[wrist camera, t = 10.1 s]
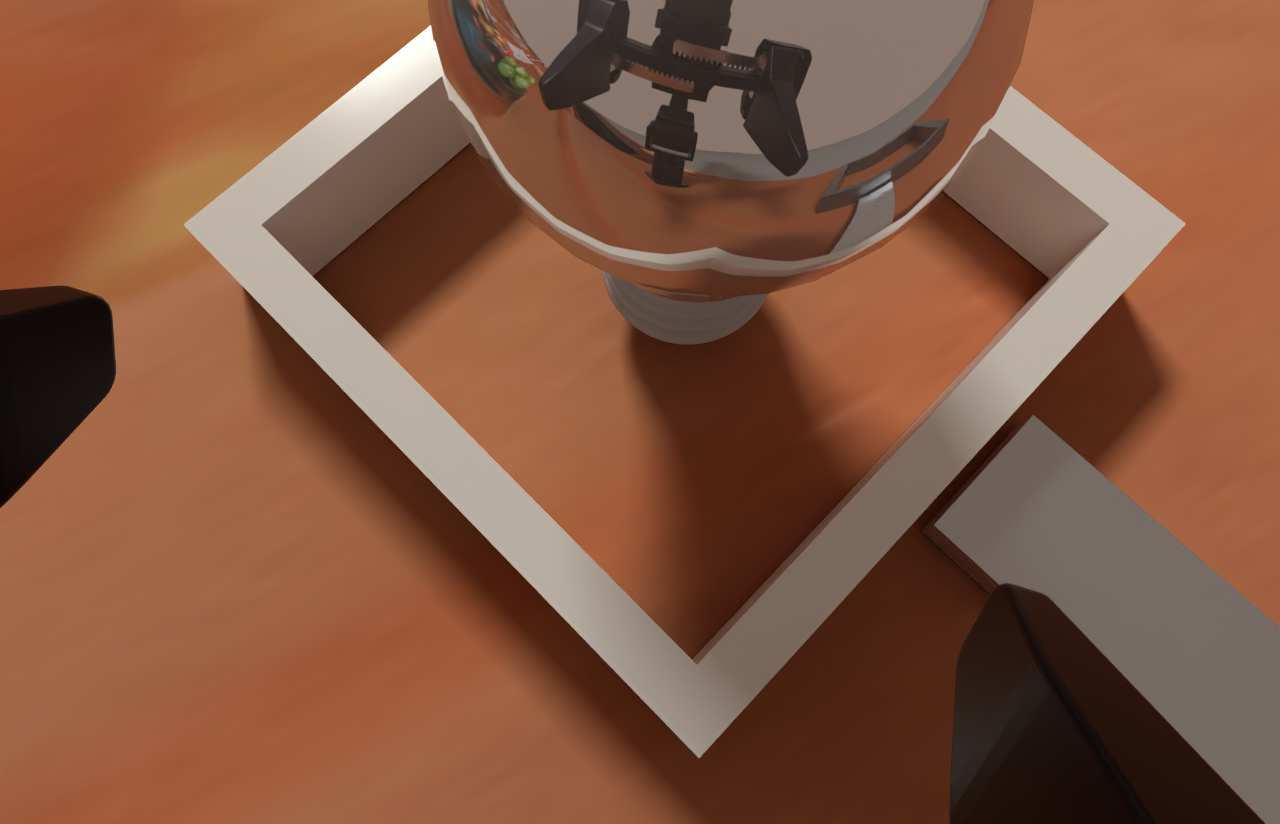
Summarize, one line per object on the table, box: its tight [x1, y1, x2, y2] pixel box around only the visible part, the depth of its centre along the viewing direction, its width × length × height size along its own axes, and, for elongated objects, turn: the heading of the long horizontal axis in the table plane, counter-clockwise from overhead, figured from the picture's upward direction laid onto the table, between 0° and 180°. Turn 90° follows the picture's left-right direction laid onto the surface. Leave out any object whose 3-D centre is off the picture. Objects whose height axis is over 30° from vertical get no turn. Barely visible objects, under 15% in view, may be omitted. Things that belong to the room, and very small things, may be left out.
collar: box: [184, 26, 1186, 758], centre depth 18 cm, size 13×13×2 cm
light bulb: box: [428, 0, 1034, 345], centre depth 13 cm, size 7×7×12 cm
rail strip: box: [921, 415, 1280, 824], centre depth 17 cm, size 3×9×1 cm, turn 46°
